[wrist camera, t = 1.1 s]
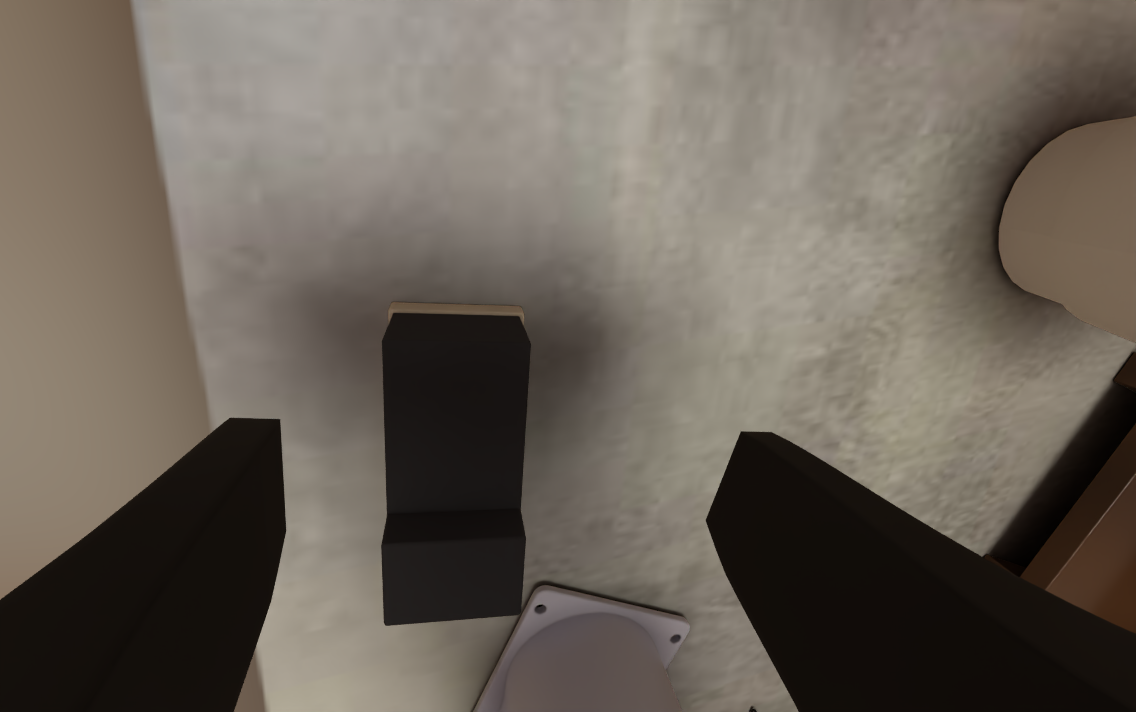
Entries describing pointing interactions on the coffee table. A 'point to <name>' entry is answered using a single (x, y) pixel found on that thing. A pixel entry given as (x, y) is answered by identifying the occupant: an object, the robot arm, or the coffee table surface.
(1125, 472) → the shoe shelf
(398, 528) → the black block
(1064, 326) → the coffee table surface
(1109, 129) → the cup
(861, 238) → the coffee table surface
